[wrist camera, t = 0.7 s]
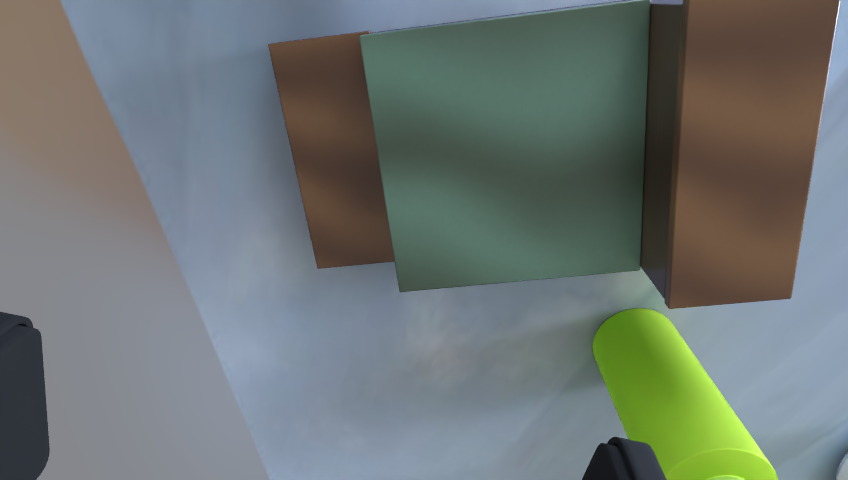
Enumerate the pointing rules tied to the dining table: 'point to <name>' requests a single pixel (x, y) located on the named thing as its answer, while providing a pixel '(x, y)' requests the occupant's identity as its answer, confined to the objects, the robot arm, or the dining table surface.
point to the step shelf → (567, 144)
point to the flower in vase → (843, 469)
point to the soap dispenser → (673, 401)
